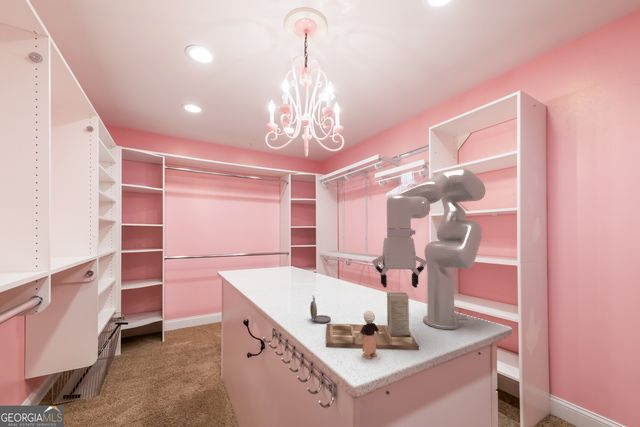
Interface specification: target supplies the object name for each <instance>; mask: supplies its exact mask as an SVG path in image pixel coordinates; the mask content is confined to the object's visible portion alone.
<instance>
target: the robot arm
mask: <svg viewBox="0 0 640 427" xmlns="http://www.w3.org/2000/svg"><path fill="white" fill-rule="evenodd" d="M485 196H486V186H485V184H484V182H483V181H482V179H480V178H479V177H478V176H477V175H476V174H475V173H474V172H472V171H471V170H469V169H467V168H456V169H450V170H443V171H440V172H437V173H436V174H434V175H433V176H432V177H431V178H429V179H428V180H426V181H425V182H424V183H422V184H417V185H416V186H413V187H411V188H409V189H406V190H404V191H402V192H400V193H398V194H396V195H393V196H389V197H387V200H386V237H384V239H383V246H382V255H380V256H378V257H377V258H374V259H372V260H371V262H372V265H373V267H374V268H375V269H376V270H377V272H378V273H380V285H382V287H383V288H387V284H388V283H387V272H388V271H389V270H411V272H412V273H411V286H412V287H413V288H418V285H419V275H420V274H421V273H422V272H423V270H424V269H425V266H426V273H427V274H426V276H427V277H426V278H427V279H426V280H427V281H426V282H427V283H426V285H427V286H426V289H427V291H426V293H427V295H426V304H427V305H426V307H427V309H426V311H427V312H426V315H424V316H423V317H422V322H423V323H424V324H426V325H427V326H429V327H431V328H432V327H433V328H436V329H440V330H456V329H458V328H459V327H460V324H459V321H468V320H469V318H468V315H467V314H461V313H456V312H455V278H454V275H453V273H452V271H451V269H450V268H454V269H459V270H460V269H461V270H467V269H468V270H469V269H470V268H472V267H473V265H474V263H475V261H476V257H477V254H478V252H479V247H480V245H481V242H482V236H483V235H482V234H483V231H482V227H481V225H480V224H479V222H477V221H475V220H471V219H470V220H467V219H466V218H467V213H466V211H465V209H463V207H461V205H459V203H465V202H467V203H468V202H478V201H481V200H483V199H484V197H485ZM440 200H441V202H442V207H443V214H442V218H441V220H440V222H439V226H438V228H437V230H436V238H437V239H438V240H435V241H431V242H428V243H427V244H426V246H425V248H424V258H425V259H423V258H422V257H419V256H417V255H416V254H417V253H416V246H415V241H414V238H413V237H412V236H413V235H416V230H415V229H414V230H413V228H412V221H411V220H412V219H413V220H414V219H422V218H426V217H427V216H428V215H429V213H430V211H431V205H432V204H434V203H435V204H436V203H437V202H439V201H440ZM380 262H381V264H382V267H380V266H379V263H380ZM417 262H419V266H417Z"/></svg>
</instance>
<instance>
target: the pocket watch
mask: <svg viewBox="0 0 640 427" xmlns="http://www.w3.org/2000/svg"><path fill="white" fill-rule="evenodd" d="M309 310H310V316H311V319H312V320H313V321H314V322H316V323H321V324H324V323H326V324H327V323H329V322H331V321H332V320H331V317H330V316H329V315H323V314H320V315H318V309H317V304H316V298H315V296H314V295H313V294H312V301H311V302H310V308H309Z"/></svg>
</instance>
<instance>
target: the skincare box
mask: <svg viewBox="0 0 640 427" xmlns="http://www.w3.org/2000/svg"><path fill="white" fill-rule="evenodd" d="M386 302H387V304H386V305H387V306H386V308H387V309H386V311H387V313H386V314H387V316H386V317H387V319H386V320H387V325H388V332H389V334H397V335H409V332H410V312H409V311H410V308H409V307H410V306H409V295H408V294H407V293H406V292H387V293H386Z"/></svg>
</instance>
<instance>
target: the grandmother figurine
mask: <svg viewBox="0 0 640 427" xmlns="http://www.w3.org/2000/svg"><path fill="white" fill-rule="evenodd" d="M363 319H364V322H365V323H366V324H363V325H364V326H363V327H362V329H361V331H360V336H359V340H362V337H363V335H364V342H363V348H362V352H363V353H362V355H361V356H362V358H365V359H367V360H370V359H372V357H374V358H376V357H377V356H378V354H377V353H376V352H377V349H376V343H375V337H374V333H375V332H376V333H377V336H380V333H379V329H378V327H377V326H376V325H377V324H376V323H375V322H374V321H375V319H376V315H375V312H373V311H372V310H371V309H370V310H366V311H364V313H363Z"/></svg>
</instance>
